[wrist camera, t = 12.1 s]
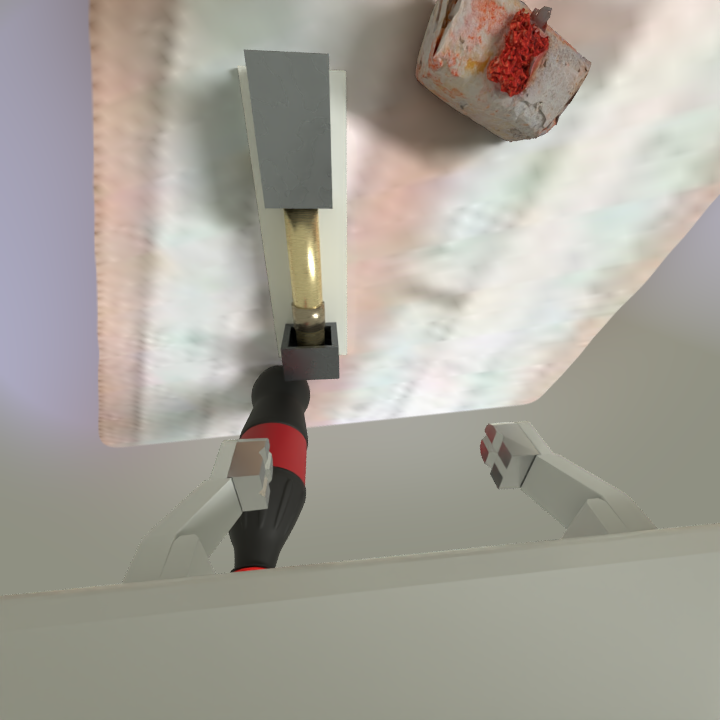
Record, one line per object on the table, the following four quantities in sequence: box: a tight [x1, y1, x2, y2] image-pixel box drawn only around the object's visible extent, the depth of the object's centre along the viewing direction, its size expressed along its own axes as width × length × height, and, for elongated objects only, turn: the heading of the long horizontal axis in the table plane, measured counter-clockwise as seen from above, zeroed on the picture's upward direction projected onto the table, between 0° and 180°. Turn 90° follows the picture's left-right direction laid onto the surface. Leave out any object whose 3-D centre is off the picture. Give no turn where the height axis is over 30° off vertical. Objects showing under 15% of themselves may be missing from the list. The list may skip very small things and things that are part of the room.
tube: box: [283, 208, 325, 347], centre depth 38 cm, size 20×4×4 cm, turn 179°
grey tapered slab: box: [244, 50, 333, 209], centre depth 30 cm, size 11×6×6 cm, turn 179°
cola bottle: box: [229, 366, 310, 573], centre depth 38 cm, size 8×8×30 cm
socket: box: [281, 322, 339, 381], centre depth 43 cm, size 5×7×7 cm
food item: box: [415, 0, 591, 142], centre depth 28 cm, size 14×8×10 cm, turn 66°
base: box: [237, 66, 347, 358], centre depth 39 cm, size 32×10×1 cm, turn 179°
